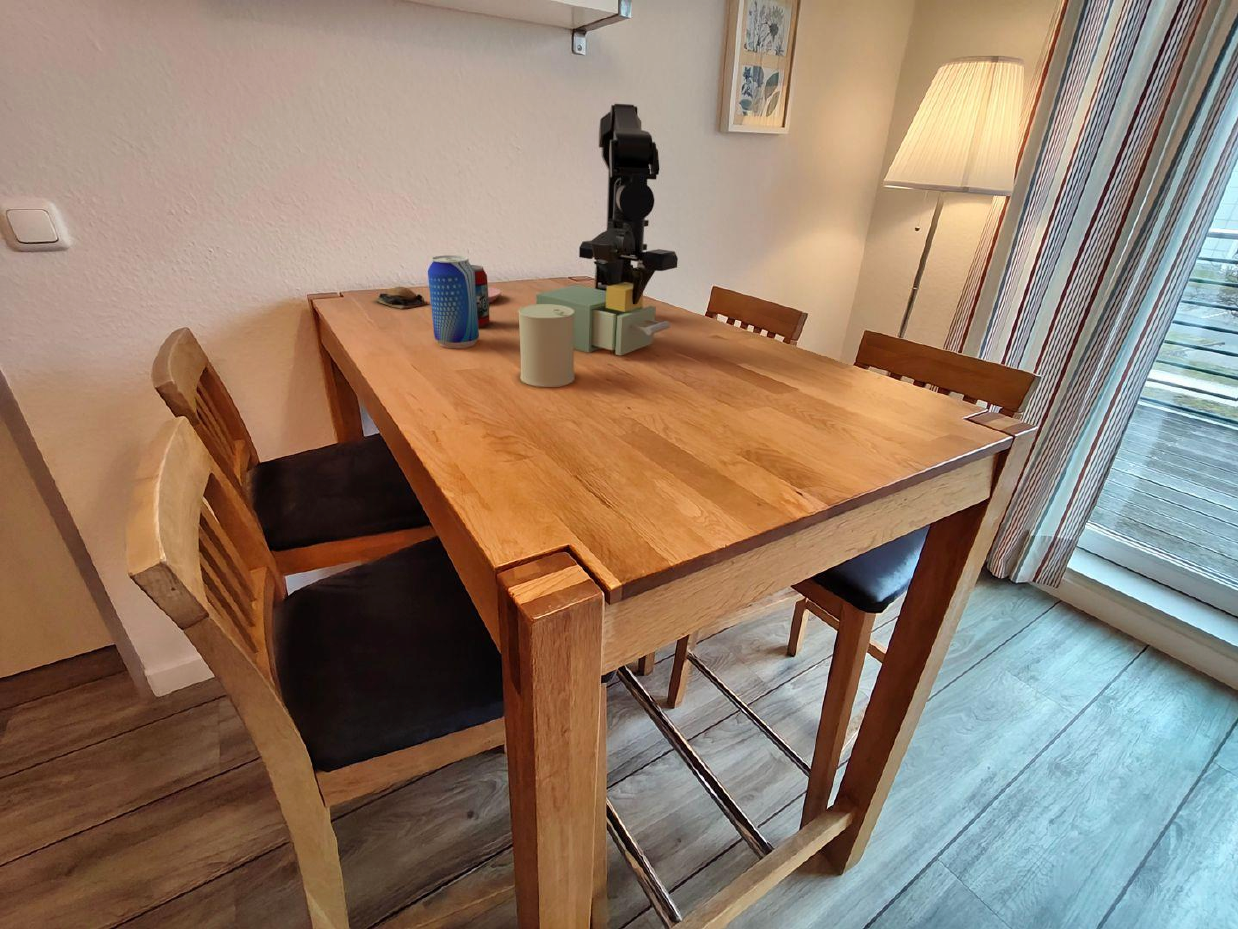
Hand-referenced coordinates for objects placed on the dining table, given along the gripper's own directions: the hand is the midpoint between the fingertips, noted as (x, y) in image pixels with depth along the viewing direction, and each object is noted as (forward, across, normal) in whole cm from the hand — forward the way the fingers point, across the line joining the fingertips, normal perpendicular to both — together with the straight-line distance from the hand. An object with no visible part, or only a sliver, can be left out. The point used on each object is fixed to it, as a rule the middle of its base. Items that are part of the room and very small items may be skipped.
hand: (624, 301), depth 112 cm
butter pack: (+1, 0, 0) cm, 1 cm away
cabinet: (+9, -10, 0) cm, 14 cm away
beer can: (+10, -26, -20) cm, 34 cm away
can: (+10, 0, -22) cm, 24 cm away
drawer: (+8, 0, 0) cm, 8 cm away
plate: (+10, -52, +7) cm, 53 cm away
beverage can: (+10, -34, -8) cm, 36 cm away
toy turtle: (+10, -60, -8) cm, 62 cm away
